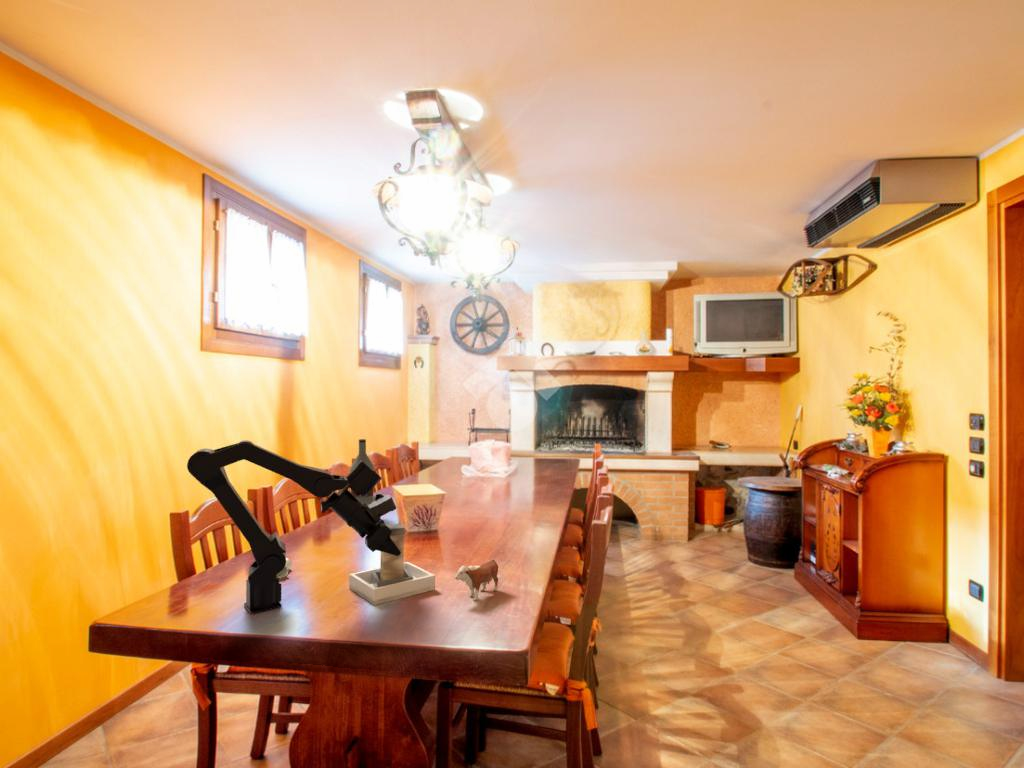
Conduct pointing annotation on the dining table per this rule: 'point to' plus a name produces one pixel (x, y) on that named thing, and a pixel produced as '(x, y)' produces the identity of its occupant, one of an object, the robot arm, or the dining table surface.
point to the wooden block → (393, 556)
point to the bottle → (363, 457)
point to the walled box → (391, 584)
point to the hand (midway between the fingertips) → (397, 551)
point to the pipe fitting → (285, 569)
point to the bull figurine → (478, 576)
